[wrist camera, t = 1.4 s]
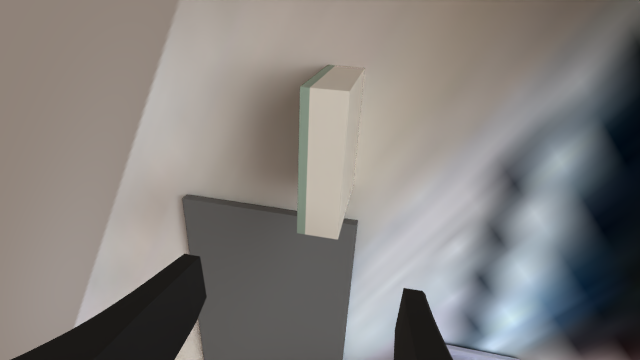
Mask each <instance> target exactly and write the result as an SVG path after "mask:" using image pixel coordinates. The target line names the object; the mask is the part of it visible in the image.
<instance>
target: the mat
mask: <svg viewBox="0 0 640 360" xmlns="http://www.w3.org/2000/svg"><path fill="white" fill-rule="evenodd" d="M182 200H183V208H184V215H185V223H186V230H187V237H188V245H189V252H190V255H195V256H200V258H201V264H202V270H203V277H204V283H205V289H206V295H207V298H206V300H205V303H204V305H203V307H202V310H201V312H200V314H199V317H198V319H199V326H200V334H201V341H202V348H203V356H204V360H342V359H343V350H344V341H345V332H346V323H347V314H348V305H349V296H350V287H351V278H352V268H353V259H354V250H355V241H356V232H357V223H358V220H351V219H344V220H343V223H342V227H341V230H340V234H339V237H338V240H337V239H331V238H324V237H318V236H312V235H306V234H299V233H297V211H292V210H285V209H279V208H272V207H266V206H259V205H253V204H246V203H239V202H233V201H226V200H220V199H213V198H207V197H200V196H193V195H186V196H185V197H183V198H182Z"/></svg>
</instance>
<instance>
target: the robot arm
mask: <svg viewBox="0 0 640 360" xmlns="http://www.w3.org/2000/svg"><path fill="white" fill-rule="evenodd" d="M206 298H207V295H206V289H205V283H204V277H203V270H202V264H201V258H200V256H195V255H188V254H184V255H182V256H181V257H179V258H178V259H177V260H175V261H174V262H173V263H171V264H170V265H168V266H167V267H166V268H164V269H163V270H162V271H160V272H159V273H158V274H156V275H155V276H154V277H152V278H151V279H149V280H148V281H147V282H145V283H144V284H142V285H141V286H140V287H138V288H137V289H135V290H134V291H133V292H131V293H130V294H128V295H127V296H125V297H124V298H122V299H121V300H119V301H118V302H116V303H115V304H113V305H112V306H110V307H109V308H107V309H106V310H104V311H103V312H101V313H99V314H98V315H96V316H94V317H93V318H91V319H89V320H88V321H86V322H84V323H82V324H81V325H79V326H77V327H75V328H74V329H72V330H70V331H68V332H67V333H65V334H63V335H61V336H59V337H57V338H55V339H53V340H51V341H49V342H47V343H45V344H43V345H41V346H39V347H37V348H35V349H33V350H31V351H29V352H27V353H25V354H23V355H20V356H18V357H16V358H13V359H11V360H175V358H176V356H177V354H178V353H179V351H180V349H181V348H182V346H183V344H184V343H185V341H186V339H187V337H188V336H189V334H190V332H191V330H192V329H193V327H194V325H195V323H196V321H197V319H198V317H199V314H200V312H201V310H202V307H203V305H204V303H205V300H206ZM394 360H520V359H516V358H511V357H506V356H501V355H496V354H491V353H486V352H481V351H476V350H471V349H466V348H461V347H456V346H451V345H446V344H445V342H444V340H443V338H442V336H441V333H440V331H439V329H438V327H437V324H436V322H435V320H434V317H433V315H432V312H431V310H430V307H429V304H428V301H427V299H426V295H425V293H424V292H423V291H419V290H412V289H406V288H404V289H403V294H402V299H401V303H400V308H399V313H398V318H397V322H396V327H395V343H394Z"/></svg>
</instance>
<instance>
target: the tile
mask: <svg viewBox="0 0 640 360" xmlns="http://www.w3.org/2000/svg"><path fill="white" fill-rule="evenodd" d="M364 71H365V68H358V67H345V66H332V65H328V66H326V67H325V68H324V69H322V70H321V71H320V72H318V73H317V74H316V75H315V76H313V77H312V78H311V79H309V80H308V81H307V82H306V83H304V84H303V85H302V86H300V111H299V159H298V208H297V233H299V234H306V235H312V236H318V237H324V238H331V239H337V240H338V237H339V234H340V230H341V227H342V223H343V220H344V216H345V213H346V209H347V206H348V203H349V199H350V196H351V192H352V189H353V185H354V175H355V165H356V154H357V144H358V133H359V123H360V112H361V102H362V92H363V81H364Z"/></svg>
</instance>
